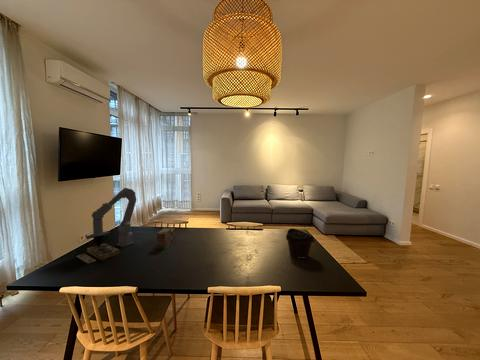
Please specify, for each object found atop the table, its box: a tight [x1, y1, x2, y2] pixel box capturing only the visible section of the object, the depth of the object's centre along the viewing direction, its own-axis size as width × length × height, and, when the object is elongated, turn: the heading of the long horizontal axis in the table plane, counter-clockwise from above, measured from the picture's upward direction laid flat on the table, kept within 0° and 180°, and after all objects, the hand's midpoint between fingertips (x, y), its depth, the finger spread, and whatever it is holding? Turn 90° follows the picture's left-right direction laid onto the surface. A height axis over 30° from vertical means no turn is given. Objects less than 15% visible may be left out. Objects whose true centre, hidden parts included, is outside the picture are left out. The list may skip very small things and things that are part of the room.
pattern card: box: [76, 253, 97, 264], centre depth 142 cm, size 5×17×1 cm, turn 57°
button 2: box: [99, 243, 107, 251], centre depth 150 cm, size 4×4×3 cm
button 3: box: [104, 245, 112, 253], centre depth 147 cm, size 4×4×3 cm
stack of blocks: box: [156, 227, 176, 250], centre depth 170 cm, size 21×6×12 cm, turn 177°
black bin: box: [285, 228, 315, 260], centre depth 154 cm, size 18×20×18 cm
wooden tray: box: [86, 242, 120, 261], centre depth 150 cm, size 12×20×3 cm, turn 57°
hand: (98, 246), depth 154 cm, fingers closed, pressing on button 1
